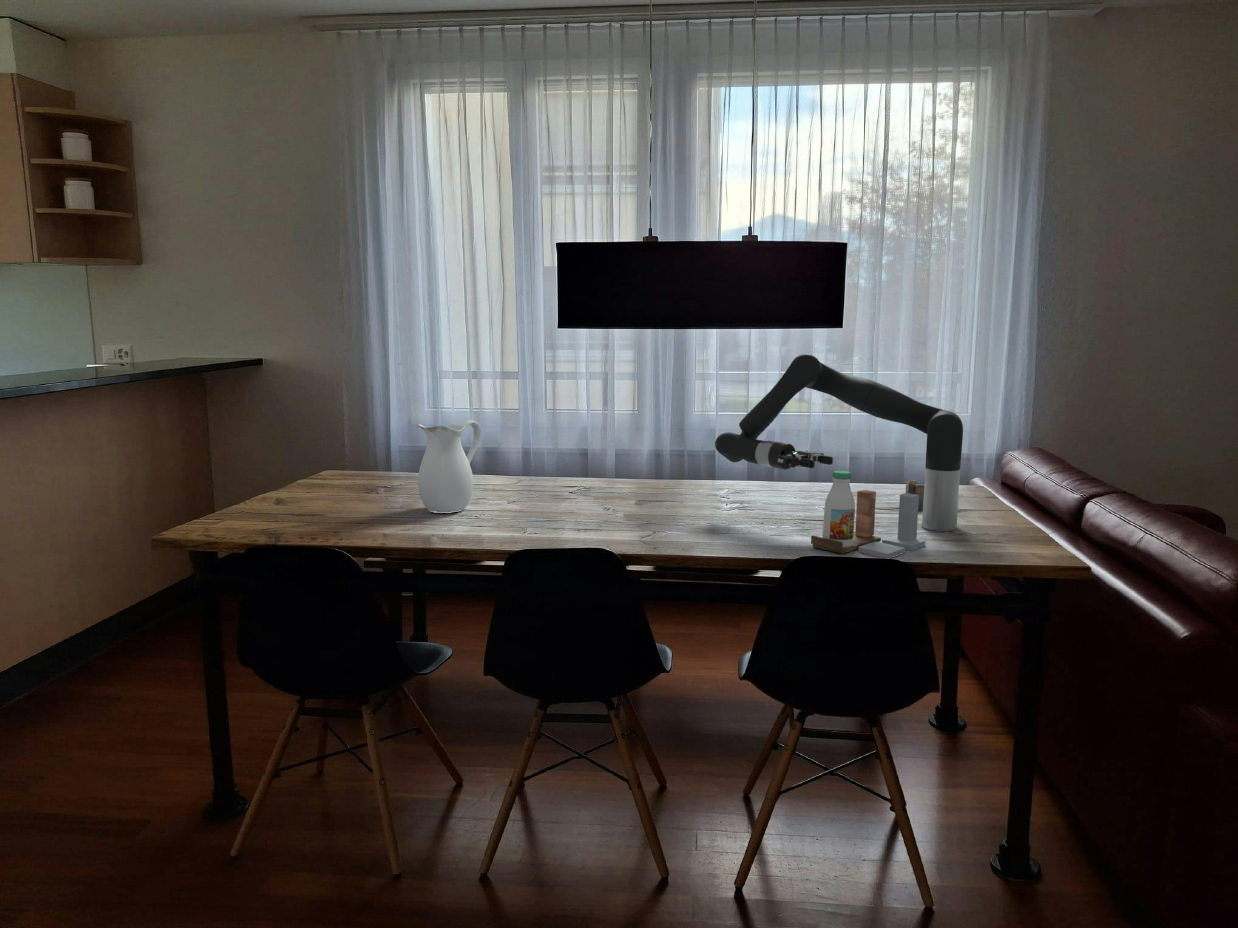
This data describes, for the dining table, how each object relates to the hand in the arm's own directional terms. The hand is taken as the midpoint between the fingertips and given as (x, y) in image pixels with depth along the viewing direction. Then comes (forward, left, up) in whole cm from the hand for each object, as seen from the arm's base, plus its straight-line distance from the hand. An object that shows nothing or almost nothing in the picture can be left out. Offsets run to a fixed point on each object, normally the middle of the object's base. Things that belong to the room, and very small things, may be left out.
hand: (823, 462), depth 229 cm
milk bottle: (+8, +11, -20) cm, 24 cm away
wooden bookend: (+3, +11, -20) cm, 23 cm away
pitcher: (+58, -97, -21) cm, 115 cm away
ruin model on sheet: (-53, +2, -21) cm, 57 cm away
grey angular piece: (-2, +21, -20) cm, 29 cm away
